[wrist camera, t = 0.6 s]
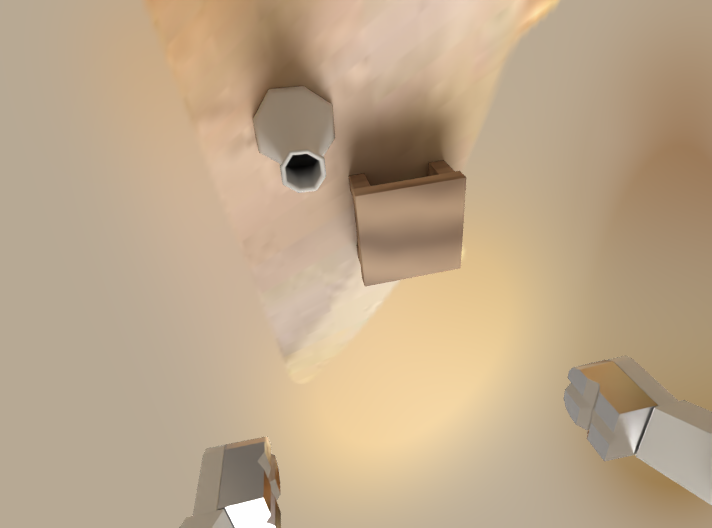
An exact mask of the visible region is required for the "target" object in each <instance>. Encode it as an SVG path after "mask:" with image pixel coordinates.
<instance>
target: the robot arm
mask: <svg viewBox="0 0 712 528" xmlns="http://www.w3.org/2000/svg"><path fill="white" fill-rule="evenodd" d="M568 379H569V380H570V381H571V384H570V385H569V386H568V387H567V388H566V389H565V393H564V401H565V406H566V409H567V411H568V413H569V415H570V417H571V418H572V420H573V421H574V422H575V424H576V425H578V426H580V427H582V428H584V429H586V430H587V439H588V441H589V442H590V443H591V445H592V446H593V447H594V448H595V450H596V451H597V452H598V454H599V455H600V456H601V458H602V459H603V460H604V461H608V460H613V459H617V458H622V457H627V456H631V455H636V457H637V458H639V459H640V460H642V461H644V462H645V463H647V464H648V465H650V466H651V467H653V468H654V469H656V470H658V471H659V472H661V473H662V474H664V475H665V476H667V477H668V478H670V479H672V480H673V481H675V482H676V483H678V484H679V485H681V486H683V487H684V488H686V489H687V490H689V491H690V492H692V493H694V494H695V495H696V496H698V497H700V498H701V499H703V500H704V501H706V502H707V503H709V504H710V505H712V412H711V411H709V410H706V409H704V408H702V407H699V406H697V405H694V404H692V403H689V402H687V401H685V400H683V401H678V400H677V399H676V398H675V397H673V395H671V394H670V393H669V392H668V391H667V390H666V389H665V388H664V387H663V386H662V385H661V384H659V383H658V382H657V381H656V380H655V379H654V378H653V377H652V376H651V375H650V374H649V373H647V372H646V371H645V370H644V369H643V368H642V367H641V366H640V365H639V364H638V363H636V362H635V361H634V360H633V359H632V358H630V357H628V356H621V357H617V358H613V359H608V360H602V361H598V362H594V363H589V364H585V365H581V366H577V367H573V368H572V369H571V370H570V371H569V374H568ZM279 496H280V477H279V469H278V465H277V460H276V458H275V455H273V454H271V443H270V441H269V438H268V436H267V437H262V438H257V439H251V440H247V441H241V442H236V443H231V444H226V445H221V446H217V447H212V448H207V449H206V450H205V452H204V455H203V458H202V464H201V470H200V476H199V482H198V488H197V494H196V499H195V506H194V511H193V516H191V517H187V518H186V519H185V520H184V522H183V523H182V525H181V526H180V527H179V528H281V513H280V509H279V507H278V504H277V499H278V497H279Z"/></svg>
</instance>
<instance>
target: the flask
mask: <svg viewBox="0 0 712 528" xmlns="http://www.w3.org/2000/svg"><path fill="white" fill-rule="evenodd" d="M253 123H254V129H255V134H256V139H257V145H258V150H259V153H261V154H263V155H265V156H267V157H268V158H270V159H272V160H274V161H276V162H278V163H279V164H281V165H280V170H281V176H282V182H283V185H285V186H287V187H289V188H291V189H293V190H294V191H296V192H298V193H301V192H310V191H317V189H318V188H319V186H320V185H321V183H322V182H323V180H324V179H325V177H326V170H325V159H324V157H323V156H324V155H325V153H326V151H327V150H328V148H329V147H330V145H331V143H332V142H333V140H334V139H335V132H334V119H333V106H332V104H330V103H329V102H327V101H326V100H324V99H323V98H321V97H320V96H318V95H317V94H315V93H313V92H312V91H310V90H309V89H307V88H306V87H304V86H298V87H287V88H275V89H268V91H267V93H266V95H265V97H264V99H263V101H262V103H261V105H260V107H259V109H258V110H257V112H256V114H255V116H254V118H253Z"/></svg>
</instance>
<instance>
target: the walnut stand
mask: <svg viewBox="0 0 712 528" xmlns="http://www.w3.org/2000/svg"><path fill="white" fill-rule="evenodd" d="M349 182H350V190H351V193H352V195H353V201H354V210H355V219H356V228H357V237H358V245H357V252H358V258H359V261H360V264H361V272H362V279H363V282H364V285H365V286H370V285H375V284H380V283H385V282H391V281H396V280H401V279H406V278H412V277H416V276H422V275H427V274H432V273H438V272H443V271H448V270H453V269H458V268H460V266H461V251H462V236H463V220H464V205H465V204H464V203H465V190H466V177H465V176H464V175H463V174H462V173H461V172H460V171H457V172H455V171H454V170H453V169H452V168H451V167H450V166H449V165H448V164H447V163H446V162H445V161H444V160H442V161H436V162H430V163H429V176H427V177H421V178H416V179H410V180H404V181H398V182H392V183H386V184H380V185H374V186H370V184H369V182H368V180H367V178H366V176H365V174H364V173H363V174H357V175H351V176H349Z"/></svg>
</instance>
